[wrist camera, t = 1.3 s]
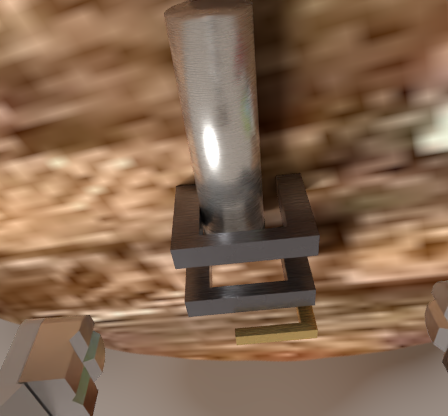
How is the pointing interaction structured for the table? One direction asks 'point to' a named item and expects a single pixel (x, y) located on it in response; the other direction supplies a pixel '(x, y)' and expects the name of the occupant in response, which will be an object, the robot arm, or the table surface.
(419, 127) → the table surface
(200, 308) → the collars
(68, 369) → the robot arm
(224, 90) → the tube
